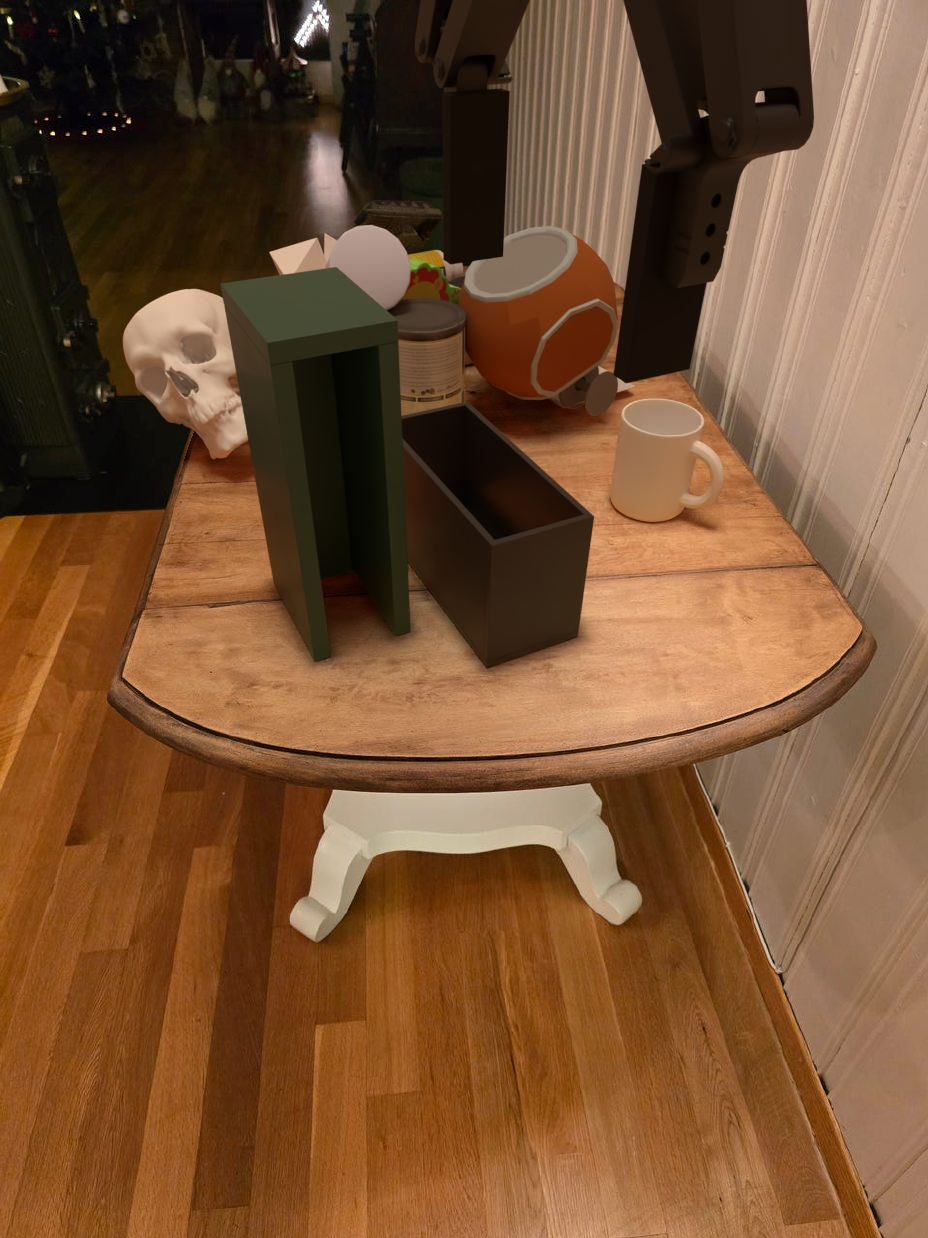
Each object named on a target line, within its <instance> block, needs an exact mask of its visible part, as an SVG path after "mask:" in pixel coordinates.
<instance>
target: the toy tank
mask: <svg viewBox="0 0 928 1238" xmlns="http://www.w3.org/2000/svg"><path fill="white" fill-rule="evenodd" d="M441 222H443V212H442V211H441V209H440V208H437V207H434V206H433V205H431V204H429V203H428V202H426V201H423V200H387V199H369V200H368V201H367V202H366V203H365V205H364V206H363V208H362V209H361V210H360V212H359V213H358V215H357V217H356V218H355V220H354V221H353V223H354V224H355V225H354V226H353V228H355V227H357V226H366V225H373V226H376V227H380V228H383V229H386V230H387V231H389V232H390V233H391V234H393V235H394V236H395V237H396V238H398V239H399V241H400V242H401V244H402V245H403V247H404V248H405V250H406V252H407V255H410V254H415V253H420V251H421V250H422V249H423V247H424V246H425V245H426V243H428V241H429V240H430V239H431V234H433V232H434V231H435V229H437V228H438V226H439V225H440V223H441ZM322 251H323V254H324V250H322Z"/></svg>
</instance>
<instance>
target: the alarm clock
mask: <svg viewBox="0 0 928 1238" xmlns="http://www.w3.org/2000/svg"><path fill="white" fill-rule="evenodd" d="M464 276H465V279H464V282H463V285H462V288H461V291H460V296H459V306H460V307H462V308H463V309H464V310H465V312H466V315H467V319H466V324H465V351H466V353H467V355H468V356H469V358H470V360H471V361H472V363H471V364H473V366H474V367H475V368H476V370H477V371H478V373H479V375H480V376H481V377H482V378H483V379H484V380H485V381H487V382H488V383H489V384H490V385H491V386H493V387H494V388H496V389H498V390H501V391H504V392H506V394H508V395H509V396H513V397H515V398H517V399H520V400H523V401H524V400H525V401H527V400H529V401H532V400H534V401H535V400H536V401H543V400H547V399H548V398H550V397H554V396H556V395H557V394H559V393H560V392H562V391H563V390H564V389H566V388H567V387H569V386H570V385H571V384H573V383H574V382H576V381H577V380H579V379H580V378H581V377H583V376H584V375H586V374H587V373H588V372H590V371H591V370H593V369H594V368H595V367H597V366H600V365H601V364H603V362H604V361H605V360H606V358H607V357H608V355H609V353H610V351H611V349H612V347H613V345H614V343H615V342H616V339H617V338H616V337H617V332H618V328H619V321H618V319H619V317H618V316H619V315H618V306H617V305H618V304H617V296H616V285H615V281H614V279H613V276H612V274H611V271H610V269H609V267H608V264H606V263H605V261H604V260H603V259H602V258H601V256H599V254H598V253H597V252H596V251H595V250H594V249H593V247H591V246H590V245H588V244H587V242H585V241H584V240H583V239H581V238H580V237H577V236H576V235H575V234H573V233H571V232H570V231H569V230H567V229H566V228H562V227H557V226H553V225H545V226H536V227H529V228H526V229H522V230H519V231H517V232H514V233H510V234H508V235H506V236H504V249H503V257H498V258H491V259H485V260H478V261H472V262H470V265H469V267H468V268H467V269H466V271H465V273H464Z"/></svg>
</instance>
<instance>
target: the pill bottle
mask: <svg viewBox="0 0 928 1238" xmlns="http://www.w3.org/2000/svg"><path fill="white" fill-rule="evenodd" d="M408 259H409V260H411V259H418V260H421V261H424V262H427V263H428V264H431V265H434V266H437V267H439V268H440V269H441V271H442V275H444V276H445V277H447V279H448V282H449V281H450V280H452V279H453V278H454V279H455V278H456V277H457V278H458V277H460V276H464V265H463V263H458V264H452V265H450V264H449V263H447V262H446V261H444V260H443V251H441V250H439V249H432V250H428V251H422V252H418V253H415V254H410V255H408Z"/></svg>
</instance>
